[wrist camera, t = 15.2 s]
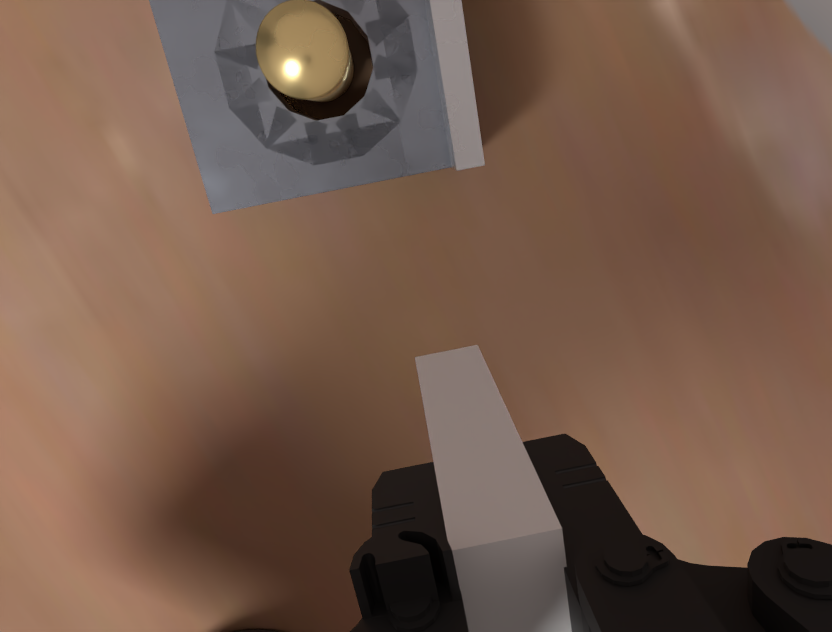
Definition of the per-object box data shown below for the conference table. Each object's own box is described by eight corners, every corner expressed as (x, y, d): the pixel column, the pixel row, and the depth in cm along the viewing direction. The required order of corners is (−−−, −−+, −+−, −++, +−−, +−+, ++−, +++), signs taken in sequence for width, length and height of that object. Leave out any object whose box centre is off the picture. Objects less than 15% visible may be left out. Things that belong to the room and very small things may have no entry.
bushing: (295, 108, 37) (268, 107, 27) (278, 36, 35) (244, 8, 26) (360, 96, 37) (357, 89, 27) (346, 23, 35) (337, -10, 26)
